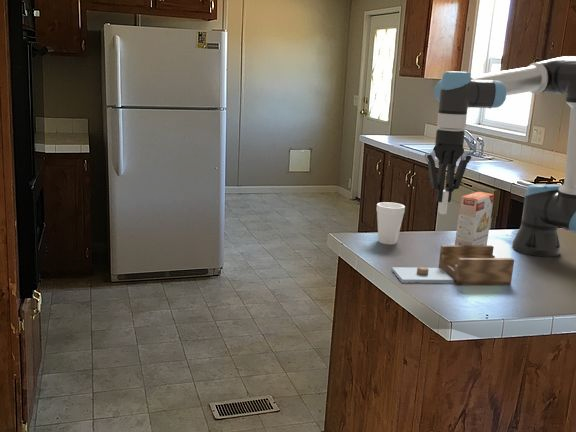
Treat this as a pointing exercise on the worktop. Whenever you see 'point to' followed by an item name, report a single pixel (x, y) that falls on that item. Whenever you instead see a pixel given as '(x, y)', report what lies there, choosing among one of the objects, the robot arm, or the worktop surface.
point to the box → (475, 265)
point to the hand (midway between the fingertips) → (442, 213)
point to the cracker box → (474, 219)
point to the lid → (422, 275)
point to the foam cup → (389, 221)
